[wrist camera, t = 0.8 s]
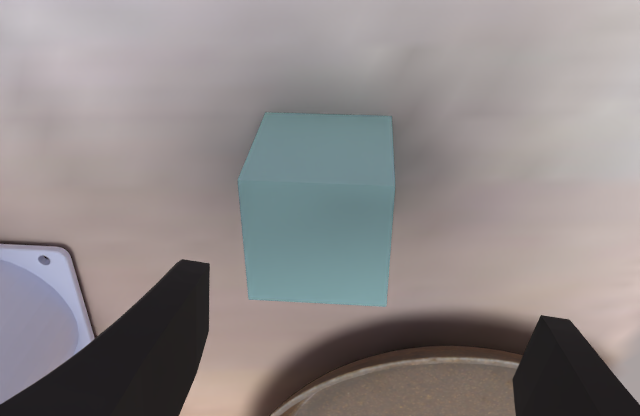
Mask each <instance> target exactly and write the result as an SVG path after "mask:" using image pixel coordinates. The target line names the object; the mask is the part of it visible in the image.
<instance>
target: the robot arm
mask: <svg viewBox="0 0 640 416" xmlns="http://www.w3.org/2000/svg"><path fill="white" fill-rule="evenodd" d="M44 256H46V257H48V258H49V259H50V260H49V259H46V258H45V257H44ZM209 271H210V264H209V263H202V262H196V261H190V260H183V259H182V260H180V261H179V262H177V263H176V264H175V265H174V266H173V267H172V268H171V269H170V270H169V271H168V272H167V274H166V275H165V276H164V277H163V278H162V279H161V280H160V281H159V282H158V283H157V284H156V285H155V286H154V287H153V288H151V289H150V290H149V291H148V292H147V293H146V294H145V295H144V296H143V297H142V298H141V299H140V300H139V301H138V302H137V303H136V304H134V305H133V306H132V307H131V308H130V309H129V310H128V311H127V312H126V313H125V314H123V315H122V316H121V317H120V318H119V319H118V320H117V321H116V322H114V323H113V324H112V325H111V326H110V327H109V328H107V329H106V330H105V331H104V332H102V333H101V334H100V335H99V336H98V337H96V338H94V334H93V331H92V327H91V324H90V321H89V317H88V314H87V310H86V307H85V304H84V300H83V297H82V293H81V290H80V287H79V283H78V280H77V276H76V273H75V270H74V266H73V263H72V259H71V256H70V254H69V253H68V252H67V251H66V250H65V249H63V248H61V247H56V246H34V245H13V244H0V416H179V414H180V412H181V409H182V407H183V404H184V402H185V400H186V397H187V395H188V393H189V390H190V388H191V385H192V383H193V381H194V378H195V376H196V373H197V370H198V367H199V363H200V360H201V357H202V353H203V350H204V346H205V343H206V339H207V335H208V332H209ZM512 380H513V392H514V404H515V413H516V416H640V405H639V404H638V402H637V401H636V400H635V399H634V398H633V397H632V395H631V394H630V393H629V392H628V391H627V389H626V388H625V387H624V386H623V385H622V383H621V382H620V381H619V380H618V379H617V377H616V376H615V375H614V374H613V372H612V371H611V370H610V369H609V368H608V366H607V365H606V364H605V363H604V361H603V360H602V359H601V358H600V356H599V355H598V354H597V353H596V351H595V350H594V349H593V348H592V346H591V345H590V344H589V343H588V341H587V340H586V339H585V338H584V337H583V335H582V334H581V333H580V332H579V330H578V329H577V328H576V327H575V326H574V324H573V323H572V322H571V321H570V320H568V319H562V318H555V317H549V316H542V315H541V316H540V318H539V321H538V323H537V325H536V327H535V330H534V332H533V334H532V336H531V339H530V341H529V343H528V345H527V348H526V350H525V352H524V354H523V357H522V359H521V361H520V363H519V366H518V368H517V370H516V372H515V375H514V377H513V379H512Z"/></svg>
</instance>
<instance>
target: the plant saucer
mask: <svg viewBox="0 0 640 416" xmlns="http://www.w3.org/2000/svg"><path fill="white" fill-rule="evenodd" d="M522 357H523V355H520V354H516V353H511V352H507V351H501V350H495V349H487V348H480V347H469V346H428V347H418V348H409V349H402V350H397V351H391V352H387V353H382V354H378V355H375V356H371V357H367V358H364V359H361V360H358V361H355V362H352V363H350V364H347V365H345V366H342V367H340V368H338V369H335V370H333V371H331V372H329V373H327V374H325V375H323V376H321V377H320V378H318V379H316V380H314V381H312V382H311V383H309V384H308V385H306V386H305V387H303V388H302V389H300V390H299V391H298V392H296V393H295V394H294V395H292V396H291V397H290V398H288V399H287V400H286V401H285V402H284V403H282V404H281V405H280V406H279V407H278V408H277V409H276V410H275V411H274V412H273V413H272V414H271V415H270V416H516V413H515V404H514V392H513V380H512V379H513V377H514V375H515V372H516V370H517V368H518V366H519V363H520V361H521V359H522Z"/></svg>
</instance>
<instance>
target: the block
mask: <svg viewBox="0 0 640 416" xmlns="http://www.w3.org/2000/svg"><path fill="white" fill-rule="evenodd" d="M238 191H239V201H240V212H241V223H242V233H243V244H244V255H245V266H246V276H247V287H248V298H249V300H268V301H287V302H306V303H325V304H344V305H363V306H383V307H386V304H387V291H388V277H389V264H390V250H391V236H392V223H393V209H394V196H395V172H394V152H393V132H392V116H375V115H340V114H305V113H270V112H265V115H264V117H263V120H262V122H261V125H260V127H259V129H258V132H257V134H256V137H255V139H254V141H253V144H252V146H251V149H250V151H249V154H248V156H247V158H246V161H245V163H244V166H243V168H242V171H241V173H240V175H239V178H238Z"/></svg>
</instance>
